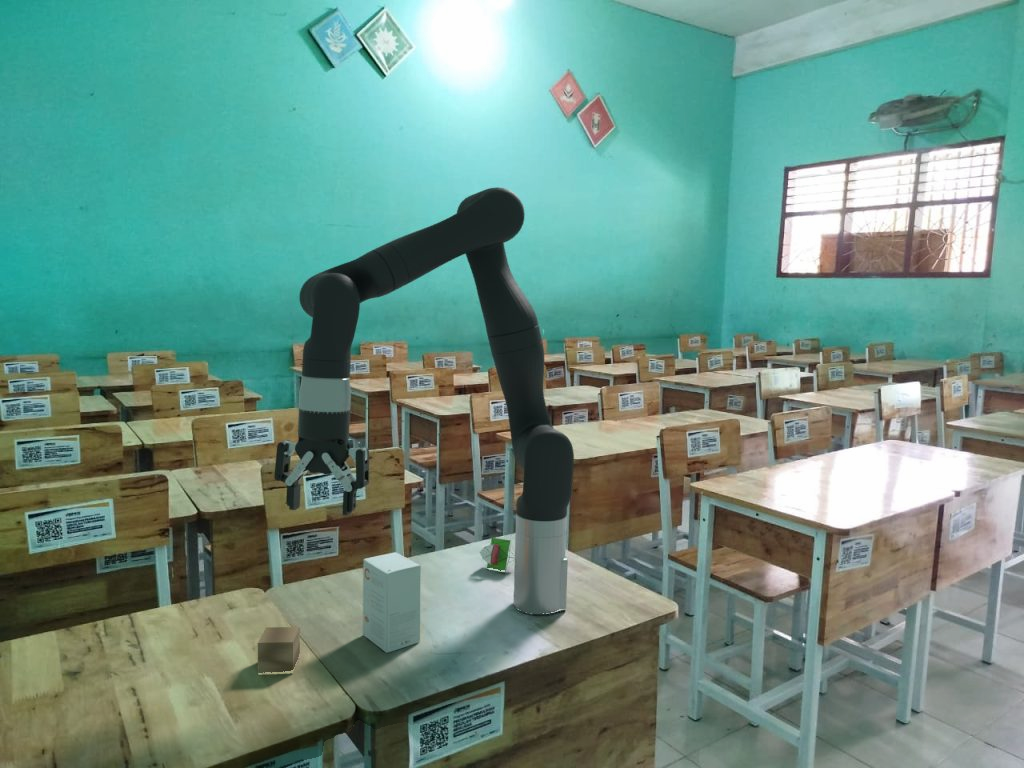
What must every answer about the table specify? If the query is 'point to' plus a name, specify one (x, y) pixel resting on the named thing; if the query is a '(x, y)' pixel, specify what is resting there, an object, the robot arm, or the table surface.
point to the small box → (391, 601)
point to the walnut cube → (278, 649)
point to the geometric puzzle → (496, 553)
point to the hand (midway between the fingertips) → (320, 511)
